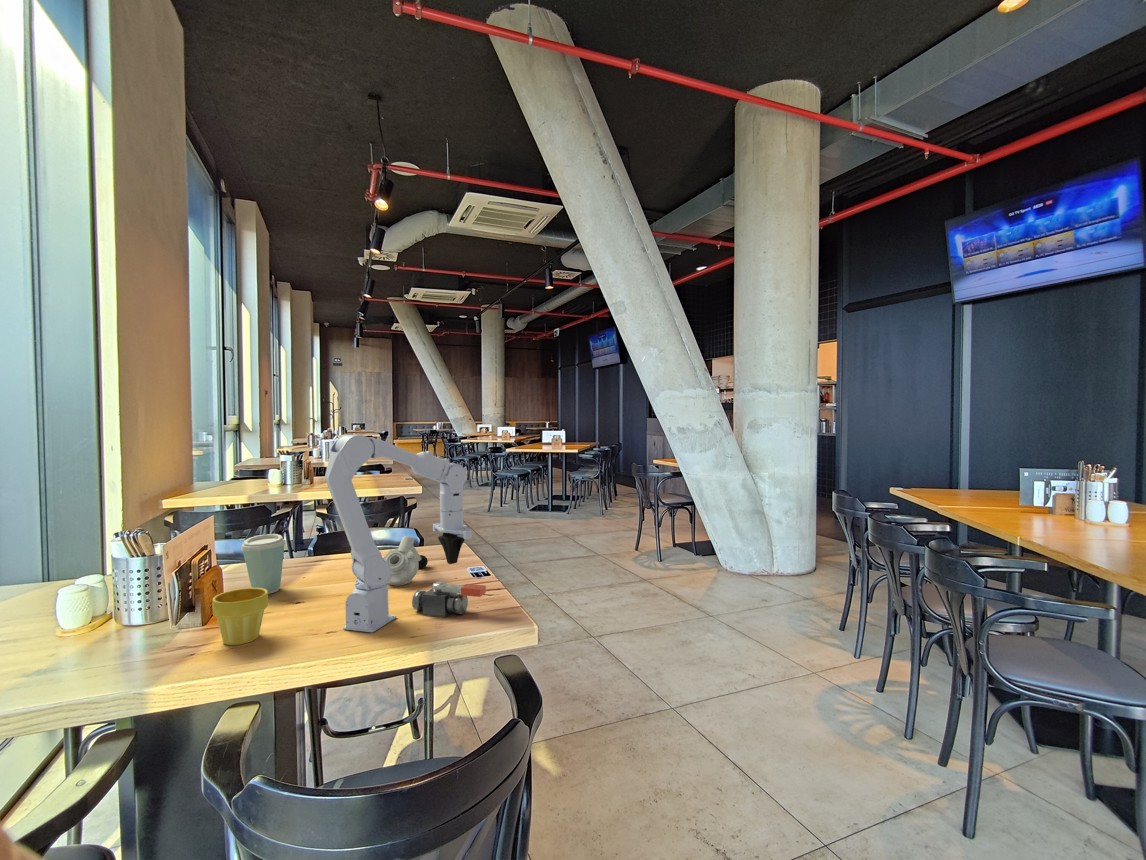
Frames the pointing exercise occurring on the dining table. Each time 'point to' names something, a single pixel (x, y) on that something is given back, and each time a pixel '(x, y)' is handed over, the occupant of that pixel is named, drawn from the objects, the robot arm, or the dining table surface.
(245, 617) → the plant pot
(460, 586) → the valve lever
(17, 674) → the dining table surface
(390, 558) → the grey rounded housing
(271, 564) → the disposable coffee cup
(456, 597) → the pipe valve
